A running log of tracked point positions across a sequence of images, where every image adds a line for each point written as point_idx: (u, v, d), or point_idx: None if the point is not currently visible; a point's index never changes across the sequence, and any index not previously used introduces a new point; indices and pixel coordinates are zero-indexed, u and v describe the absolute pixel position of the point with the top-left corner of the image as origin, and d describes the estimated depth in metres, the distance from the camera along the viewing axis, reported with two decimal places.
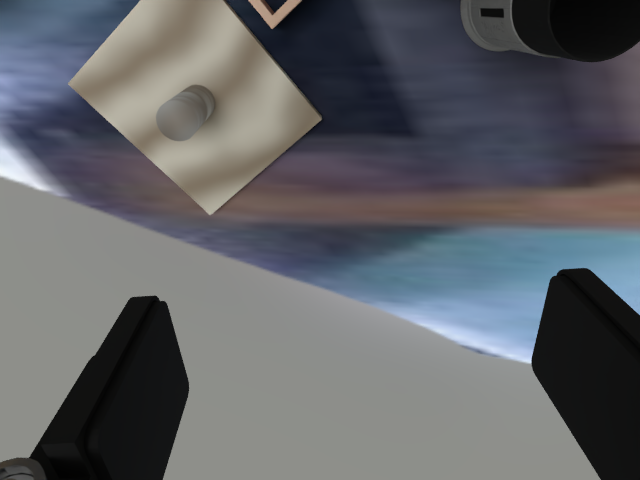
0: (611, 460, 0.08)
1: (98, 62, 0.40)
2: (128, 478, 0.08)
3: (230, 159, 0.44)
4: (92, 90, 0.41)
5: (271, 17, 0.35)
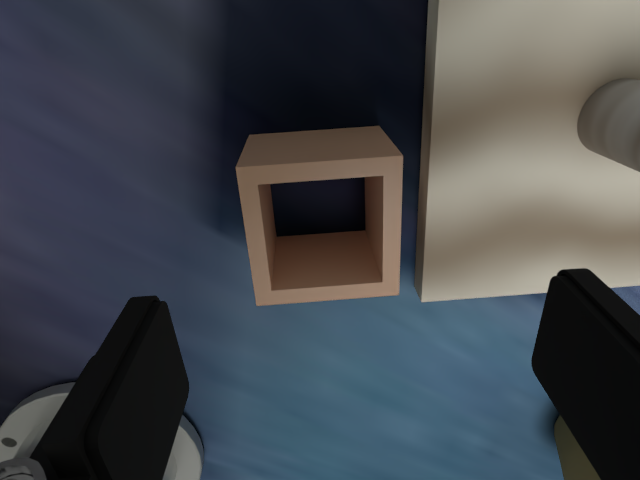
0: (611, 460, 0.08)
1: None
2: (128, 478, 0.08)
3: None
4: None
5: (387, 174, 0.16)
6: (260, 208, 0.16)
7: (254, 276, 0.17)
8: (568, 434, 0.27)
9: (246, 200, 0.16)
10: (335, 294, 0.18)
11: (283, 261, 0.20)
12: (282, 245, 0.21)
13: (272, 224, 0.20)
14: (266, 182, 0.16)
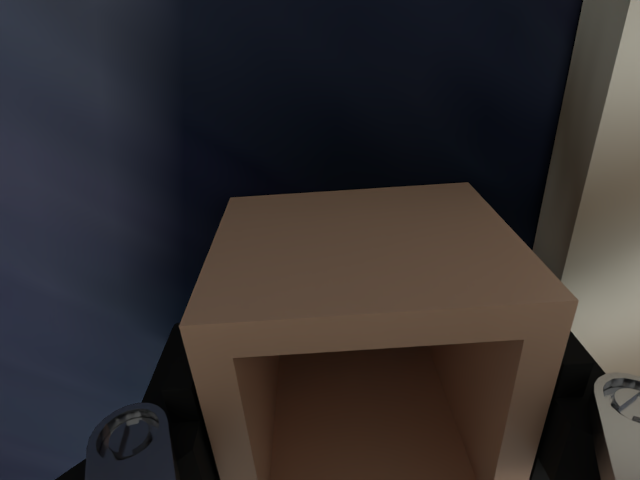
0: None
1: None
2: None
3: None
4: None
5: (533, 336, 0.07)
6: (241, 397, 0.07)
7: None
8: None
9: (208, 386, 0.07)
10: None
11: (290, 425, 0.11)
12: (290, 379, 0.12)
13: None
14: (252, 354, 0.07)
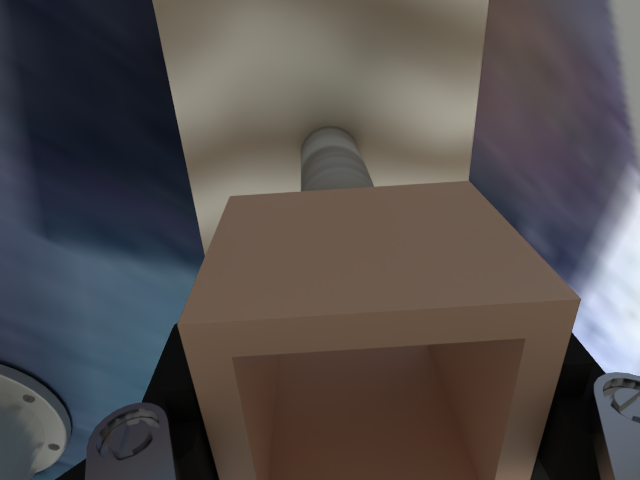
0: None
1: None
2: None
3: (360, 33, 0.21)
4: None
5: (535, 335, 0.07)
6: (240, 396, 0.07)
7: None
8: None
9: (207, 385, 0.07)
10: None
11: (290, 425, 0.11)
12: (289, 379, 0.12)
13: None
14: (252, 353, 0.07)
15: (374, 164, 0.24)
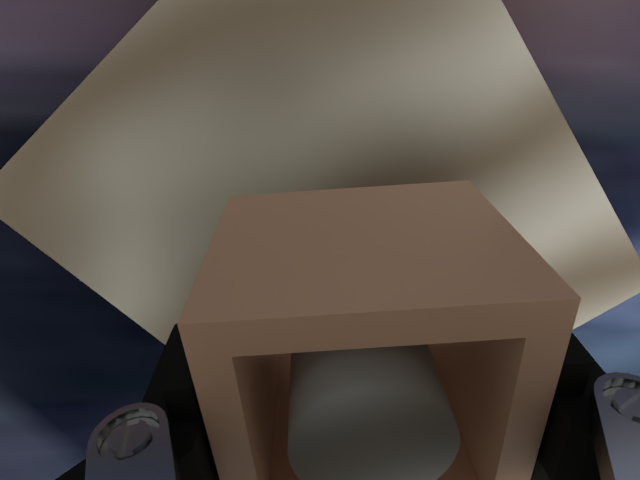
0: None
1: None
2: None
3: (261, 68, 0.12)
4: (604, 271, 0.16)
5: (535, 334, 0.07)
6: (240, 396, 0.07)
7: None
8: None
9: (207, 385, 0.07)
10: None
11: None
12: None
13: None
14: (252, 353, 0.07)
15: None
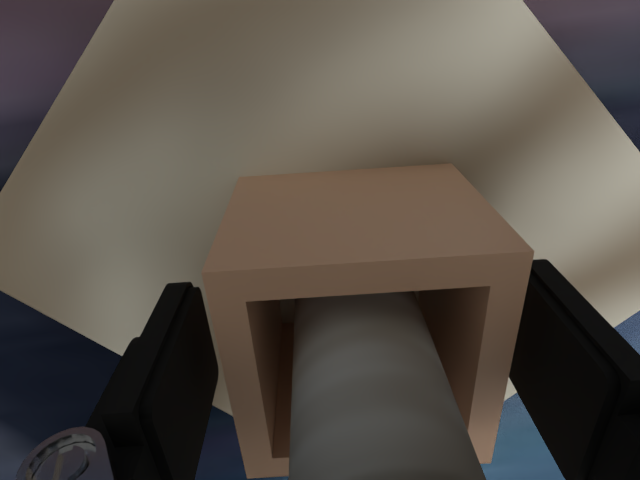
0: (562, 440, 0.09)
1: (608, 313, 0.15)
2: (174, 450, 0.08)
3: (224, 83, 0.11)
4: None
5: (498, 283, 0.08)
6: (251, 338, 0.09)
7: (242, 440, 0.10)
8: None
9: (224, 327, 0.08)
10: None
11: None
12: (292, 344, 0.14)
13: (276, 316, 0.13)
14: (262, 298, 0.08)
15: None
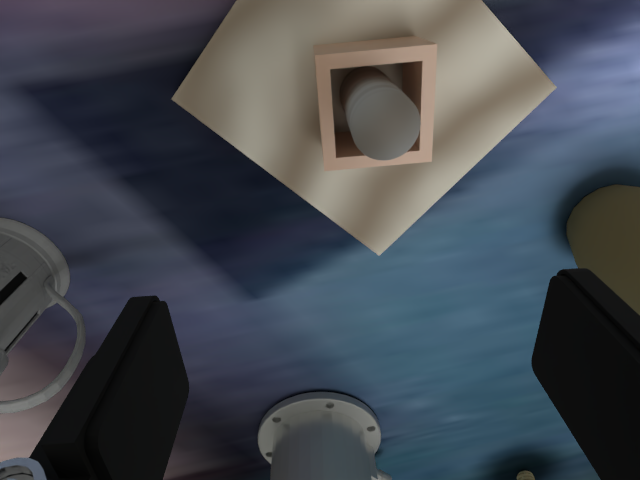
0: (611, 460, 0.08)
1: (503, 125, 0.28)
2: (128, 478, 0.08)
3: None
4: (523, 83, 0.27)
5: (425, 59, 0.21)
6: (330, 89, 0.22)
7: (324, 146, 0.23)
8: None
9: (321, 82, 0.22)
10: (383, 161, 0.24)
11: (340, 144, 0.26)
12: (337, 137, 0.27)
13: None
14: (336, 67, 0.21)
15: (401, 68, 0.26)
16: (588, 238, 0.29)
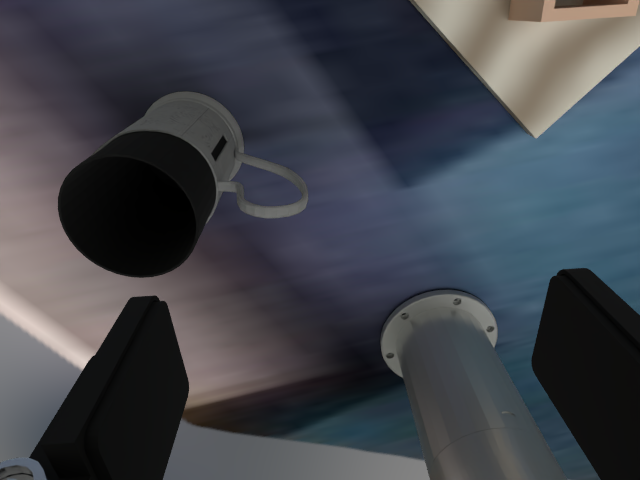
0: (612, 460, 0.08)
1: None
2: (128, 478, 0.08)
3: None
4: None
5: None
6: None
7: None
8: None
9: None
10: (594, 13, 0.27)
11: None
12: None
13: None
14: None
15: None
16: None
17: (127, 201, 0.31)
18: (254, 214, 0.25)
